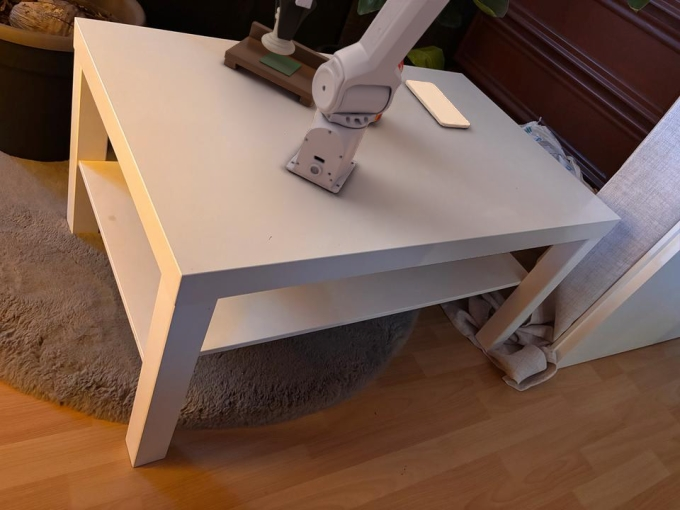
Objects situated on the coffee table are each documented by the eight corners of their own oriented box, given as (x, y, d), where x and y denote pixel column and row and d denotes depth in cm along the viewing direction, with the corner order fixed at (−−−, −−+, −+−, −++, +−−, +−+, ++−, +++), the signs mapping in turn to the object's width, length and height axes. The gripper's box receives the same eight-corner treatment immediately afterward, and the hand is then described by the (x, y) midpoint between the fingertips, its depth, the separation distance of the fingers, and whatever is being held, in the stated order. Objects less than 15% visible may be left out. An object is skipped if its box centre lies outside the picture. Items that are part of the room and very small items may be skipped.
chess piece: (300, 54, 88) (318, -2, 83) (277, 58, 85) (294, 0, 79) (277, 36, 90) (293, -20, 84) (253, 40, 86) (268, -19, 80)
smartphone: (433, 82, 115) (472, 125, 107) (431, 86, 116) (470, 128, 107) (404, 79, 111) (443, 123, 103) (403, 82, 112) (441, 126, 103)
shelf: (308, 108, 92) (318, 82, 89) (222, 64, 92) (228, 36, 89) (328, 87, 99) (337, 62, 96) (248, 47, 100) (255, 21, 96)
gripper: (275, -87, 80) (252, 5, 89) (287, -51, 71) (261, 49, 79) (321, -71, 83) (295, 17, 92) (339, -34, 73) (308, 60, 82)
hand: (282, 32), depth 86 cm, fingers closed on chess piece, 3 cm apart
